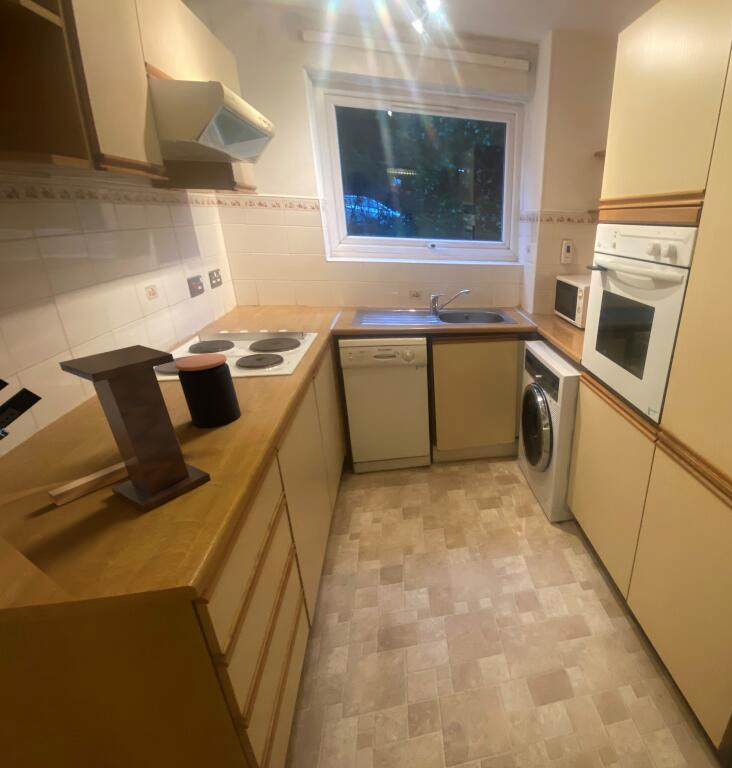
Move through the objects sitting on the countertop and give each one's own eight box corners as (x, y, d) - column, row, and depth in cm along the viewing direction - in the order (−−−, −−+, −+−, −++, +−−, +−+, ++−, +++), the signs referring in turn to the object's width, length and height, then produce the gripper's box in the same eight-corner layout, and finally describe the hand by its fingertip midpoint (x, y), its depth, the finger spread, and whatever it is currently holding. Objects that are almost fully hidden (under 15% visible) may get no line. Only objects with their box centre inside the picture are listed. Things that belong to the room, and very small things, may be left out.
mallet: (64, 510, 82) (54, 489, 80) (46, 498, 85) (35, 477, 83) (184, 457, 99) (178, 438, 97) (165, 449, 102) (159, 430, 100)
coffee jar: (249, 413, 120) (233, 352, 113) (232, 432, 110) (214, 366, 103) (206, 416, 118) (188, 354, 111) (186, 435, 108) (165, 368, 102)
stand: (145, 512, 82) (91, 374, 71) (113, 494, 87) (58, 362, 76) (211, 479, 91) (172, 353, 81) (179, 464, 96) (138, 344, 86)
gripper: (-134, 506, 57) (24, 385, 68) (-179, 459, 67) (-35, 360, 78) (-65, 528, 63) (70, 412, 74) (-116, 481, 73) (10, 386, 84)
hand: (16, 385), depth 76 cm, fingers open, 13 cm apart
